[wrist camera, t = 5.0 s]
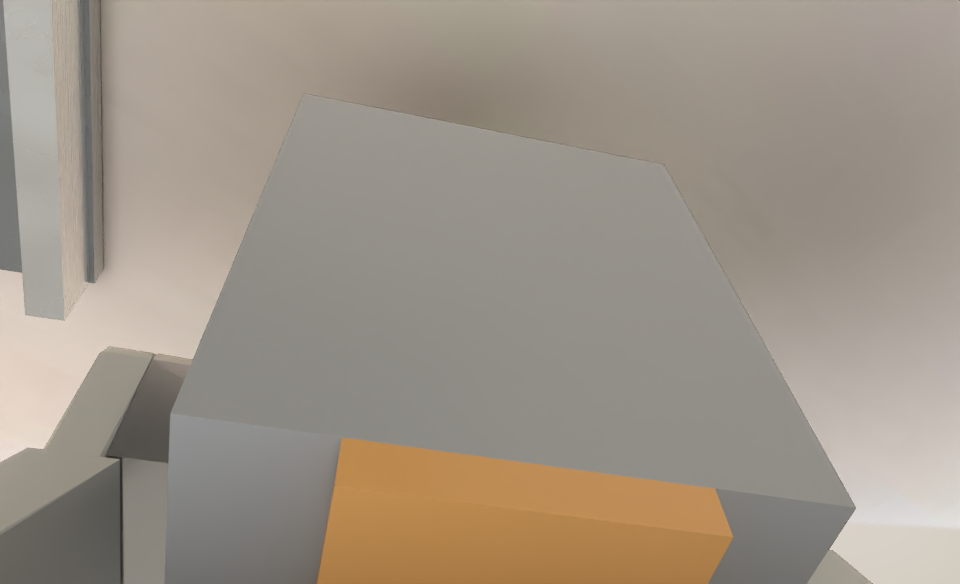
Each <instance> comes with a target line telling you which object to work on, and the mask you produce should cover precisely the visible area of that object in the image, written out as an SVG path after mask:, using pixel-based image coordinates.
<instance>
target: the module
mask: <svg viewBox="0 0 960 584" xmlns="http://www.w3.org/2000/svg"><path fill="white" fill-rule="evenodd" d="M855 509H856V507H855V505H854V503H853V501H852V500H851V498H850V496H849V494H848V492H847V491H846V489H845V487H844V485H843V484H842V482H841V480H840V478H839V476H838V475H837V473H836V471H835V469H834V467H833V466H832V464H831V462H830V460H829V458H828V457H827V455H826V453H825V451H824V450H823V448H822V446H821V444H820V442H819V441H818V439H817V437H816V435H815V433H814V432H813V430H812V428H811V426H810V424H809V423H808V421H807V419H806V417H805V416H804V414H803V412H802V410H801V408H800V407H799V405H798V403H797V401H796V399H795V398H794V396H793V394H792V392H791V390H790V389H789V387H788V385H787V383H786V382H785V380H784V378H783V376H782V374H781V373H780V371H779V369H778V367H777V365H776V364H775V362H774V360H773V358H772V356H771V355H770V353H769V351H768V349H767V348H766V346H765V344H764V342H763V340H762V339H761V337H760V335H759V333H758V331H757V330H756V328H755V326H754V324H753V322H752V321H751V319H750V317H749V315H748V314H747V312H746V310H745V308H744V306H743V305H742V303H741V301H740V299H739V297H738V296H737V294H736V292H735V290H734V288H733V287H732V285H731V283H730V281H729V280H728V278H727V276H726V274H725V272H724V271H723V269H722V267H721V265H720V263H719V262H718V260H717V258H716V256H715V254H714V253H713V251H712V249H711V247H710V246H709V244H708V242H707V240H706V238H705V237H704V235H703V233H702V231H701V229H700V228H699V226H698V224H697V222H696V220H695V219H694V217H693V215H692V213H691V212H690V210H689V208H688V206H687V204H686V203H685V201H684V199H683V197H682V195H681V194H680V192H679V190H678V188H677V186H676V185H675V183H674V181H673V179H672V178H671V176H670V174H669V172H668V170H667V169H666V167H665V165H664V164H659V163H654V162H649V161H644V160H639V159H634V158H629V157H624V156H619V155H614V154H608V153H603V152H598V151H593V150H588V149H583V148H578V147H573V146H568V145H563V144H558V143H553V142H548V141H543V140H538V139H533V138H528V137H523V136H517V135H512V134H507V133H502V132H497V131H492V130H487V129H482V128H477V127H472V126H467V125H462V124H457V123H452V122H447V121H442V120H437V119H432V118H427V117H421V116H416V115H411V114H406V113H401V112H396V111H391V110H386V109H381V108H376V107H371V106H366V105H361V104H356V103H351V102H346V101H341V100H336V99H330V98H325V97H320V96H315V95H310V94H305V93H304V94H303V97H302V99H301V101H300V104H299V106H298V109H297V111H296V113H295V116H294V118H293V121H292V123H291V125H290V128H289V130H288V133H287V135H286V137H285V140H284V142H283V145H282V147H281V149H280V152H279V154H278V157H277V159H276V161H275V164H274V166H273V169H272V171H271V173H270V176H269V178H268V181H267V183H266V185H265V188H264V190H263V193H262V195H261V197H260V200H259V202H258V205H257V207H256V209H255V212H254V214H253V217H252V219H251V221H250V224H249V226H248V228H247V231H246V233H245V236H244V238H243V240H242V243H241V245H240V248H239V250H238V252H237V255H236V257H235V260H234V262H233V264H232V267H231V269H230V272H229V274H228V276H227V279H226V281H225V284H224V286H223V288H222V291H221V293H220V296H219V298H218V300H217V303H216V305H215V308H214V310H213V312H212V315H211V317H210V320H209V322H208V324H207V327H206V329H205V332H204V334H203V336H202V339H201V341H200V344H199V346H198V348H197V351H196V353H195V356H194V358H193V360H192V363H191V365H190V367H189V370H188V372H187V375H186V377H185V379H184V382H183V384H182V387H181V389H180V391H179V394H178V396H177V399H176V401H175V403H174V406H173V408H172V411H171V413H170V436H169V465H168V493H167V522H166V551H165V580H164V584H807V583H808V581H809V580H810V578H811V577H812V575H813V574H814V572H815V570H816V569H817V567H818V566H819V564H820V563H821V561H822V560H823V558H824V557H825V555H826V553H827V552H828V550H829V549H830V547H831V546H832V544H833V543H834V541H835V540H836V538H837V536H838V535H839V533H840V532H841V530H842V529H843V527H844V526H845V524H846V523H847V521H848V520H849V518H850V516H851V515H852V513H853V512H854V510H855Z"/></svg>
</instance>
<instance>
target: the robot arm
mask: <svg viewBox="0 0 960 584" xmlns="http://www.w3.org/2000/svg"><path fill="white" fill-rule="evenodd" d="M192 360H193V359H187V358H182V357H176V356H170V355H164V354H157V355H156V354H154V353H148V352H142V351H136V350H130V349H123V348H117V347H111V346H109V347H108V348H106V349H105V350H104V351H102V352H101V353H100V354H99V355H98V357H97V359H96V360H95V362H94V364H93V365H92V367H91V369H90V371H89V372H88V374H87V376H86V377H85V379H84V381H83V383H82V384H81V386H80V388H79V389H78V391H77V393H76V395H75V396H74V398H73V400H72V401H71V403H70V405H69V407H68V408H67V410H66V412H65V413H64V415H63V417H62V419H61V420H60V422H59V424H58V425H57V427H56V429H55V431H54V432H53V434H52V436H51V437H50V439H49V441H48V442H47V444H46V446H45V448H44V449H36V448H26V449H24V450H23V451H21V452H19V453H17V454H15V455H13V456H11V457H9V458H8V459H6V460H4V461H2V462H0V584H164V580H165V551H166V522H167V493H168V465H169V436H170V413H171V411H172V408H173V406H174V403H175V401H176V399H177V396H178V394H179V391H180V389H181V387H182V384H183V382H184V379H185V377H186V375H187V372H188V370H189V367H190V365H191V363H192ZM807 584H873V583H871V582H870V581H869V580H868V579H867V578H865V577H864V576H863V575H862V574H861V573H859V572H858V571H857V570H856V569H855V568H853V567H852V566H851V565H850V564H849V563H848V562H846V561H845V560H844V559H843V558H841V557H840V556H839V555H838V554H837V553H836V552H834V551H833V550H828V552H827V553H826V555H825V557H824V558H823V560H822V561H821V563H820V564H819V566H818V567H817V569H816V570H815V572H814V574H813V575H812V577H811V578H810V580H809V581H808V583H807Z"/></svg>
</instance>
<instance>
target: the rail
mask: <svg viewBox="0 0 960 584" xmlns="http://www.w3.org/2000/svg"><path fill="white" fill-rule="evenodd" d="M0 269H2V270H8V271H15V272H22V274H23V288H24V302H25V315H28V316H35V317H43V318H50V319H57V320H64V321H65V319H66V318H67V316H68V314H69V313H70V311H71V310H72V308H73V307H74V305H75V304H76V302H77V301H78V299H79V297H80V296H81V294H82V293H83V291H84V290H85V288H86V287H87V285H88V283H89V282H90V283H95V282H96V280H97V279H98V277H99V275H100V274H101V272H102V271H103V202H102V124H101V46H100V0H0Z"/></svg>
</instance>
